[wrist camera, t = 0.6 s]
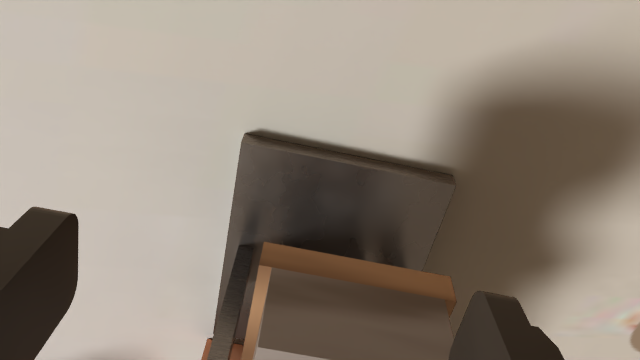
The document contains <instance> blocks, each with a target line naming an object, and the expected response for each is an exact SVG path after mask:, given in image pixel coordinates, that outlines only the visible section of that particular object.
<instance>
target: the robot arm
mask: <svg viewBox="0 0 640 360" xmlns="http://www.w3.org/2000/svg"><path fill="white" fill-rule="evenodd" d="M77 280H78V219H77V216H76V215H75V214H72V213H67V212H61V211H56V210H51V209H45V208H40V207H32V208H30V209H29V210H28V211H27V212H26V213H25V214H24V215H22V216H21V217H20V218H19V219H18V220H17V221H16V222H15V223H14V224H13V225H12V226H11V227H10V228H9V229H8V228H3V227H0V360H34V359H35V358H36V356H37V355H38V353H39V352H40V350H41V349H42V347H43V346H44V344H45V343H46V341H47V340H48V339H49V337H50V336H51V334H52V333H53V331H54V330H55V328H56V327H57V325H58V324H59V322H60V321H61V319H62V318H63V316H64V315H65V314H66V312H67V310H68V309H69V307H70V305H71V303H72V300H73V298H74V295H75V291H76V287H77ZM449 360H564V358H563V356H562V354H561V352H560V350H559V348H558V347H557V346H556V345H555V344H554V343H553V342H552V341H551V340H550V339H549V338H548V337H547V336H546V335H545V334H544V333H543V331H542V330H541V329H540V328H539V327H535V326H531V325H530V323H529V321H528V319H527V317H526V315H525V313H524V311H523V309H522V307H521V305H520V303H519V301H518V300H517V299H516V298H514V297H509V296H504V295H499V294H493V293H488V292H483V291H477V292H476V293H475V294H474V295H473V297H472V299H471V301H470V303H469V305H468V308H467V310H466V313H465V315H464V317H463V320H462V322H461V325H460V327H459V329H458V332H457V334H456V337H455V339H454V341H453V344H452V346H451V349H450V353H449Z"/></svg>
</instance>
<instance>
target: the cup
mask: <svg viewBox="0 0 640 360" xmlns="http://www.w3.org/2000/svg"><path fill="white" fill-rule="evenodd" d="M211 343H212V340H211V339H207V342H206V345H205V349H204V352H203V356H202V359H201V360H207V358H208V354H209V351H210V347H211ZM243 347H244V345H240V344H234V343H233V348H232V352H231V356H230V360H241V357H242V352H243Z"/></svg>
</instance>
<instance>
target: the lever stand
mask: <svg viewBox="0 0 640 360" xmlns="http://www.w3.org/2000/svg"><path fill="white" fill-rule="evenodd" d="M455 187H456V184H455V181H454V178H453V176H452V175H447V174H443V173H438V172H433V171H428V170H423V169H418V168H413V167H408V166H403V165H398V164H393V163H388V162H383V161H378V160H373V159H368V158H363V157H359V156H354V155H349V154H344V153H339V152H334V151H329V150H324V149H319V148H314V147H309V146H304V145H299V144H294V143H289V142H284V141H279V140H275V139H270V138H265V137H260V136H255V135H250V134H244V136H243V139H242V142H241V148H240V155H239V161H238V168H237V175H236V182H235V189H234V195H233V202H232V209H231V216H230V223H229V230H228V236H227V243H226V250H225V257H224V264H223V270H222V277H221V284H220V291H219V298H218V304H217V311H216V318H215V325H214V332H213V334H214V336H213V340H212V343H211V347H210V351H209V354H208V358H207V360H230V356H231V352H232V348H233V343H234V339H235V338H241V339H245V336H246V331H247V326H248V320H249V315H250V310H251V305H252V300H253V294H254V289H255V284H256V279H257V273H258V268H259V263H260V258H261V254H262V249H263V244H264V242H269V243H274V244H279V245H285V246H290V247H295V248H301V249H306V250H311V251H316V252H322V253H327V254H332V255H338V256H343V257H348V258H354V259H359V260H364V261H370V262H375V263H380V264H385V265H391V266H396V267H401V268H407V269H412V270H417V271H422V270H423V268H424V265H425V263H426V260H427V258H428V255H429V253H430V250H431V248H432V245H433V242H434V240H435V237H436V235H437V232H438V230H439V227H440V225H441V222H442V220H443V217H444V215H445V212H446V210H447V207H448V205H449V202H450V200H451V197H452V195H453V192H454V190H455Z"/></svg>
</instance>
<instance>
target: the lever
mask: <svg viewBox="0 0 640 360" xmlns="http://www.w3.org/2000/svg"><path fill="white" fill-rule="evenodd" d="M456 302H457V301H456V297H455V293H454V289H453V285H452V281H451V278H450V277H449V276H444V275H439V274H433V273H428V272H423V271H417V270H412V269H407V268H401V267H396V266H391V265H385V264H380V263H375V262H370V261H364V260H359V259H354V258H348V257H343V256H338V255H332V254H327V253H322V252H316V251H311V250H306V249H301V248H295V247H290V246H285V245H279V244H274V243H269V242H264V244H263V249H262V254H261V258H260V263H259V268H258V273H257V279H256V284H255V289H254V294H253V300H252V305H251V310H250V315H249V320H248V326H247V331H246V336H245V341H244V347H243V352H242V357H241V360H449V353H450V349H451V346H452V344H453V341H454V337H453V333H452V329H451V324H450V320H449V317H450V315H451V313H452V311H453V309H454V306H455V304H456Z"/></svg>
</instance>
